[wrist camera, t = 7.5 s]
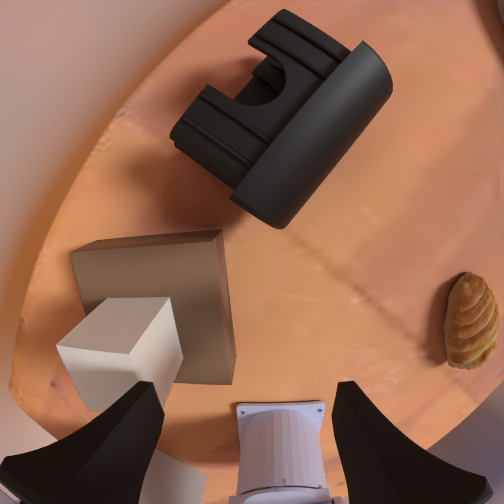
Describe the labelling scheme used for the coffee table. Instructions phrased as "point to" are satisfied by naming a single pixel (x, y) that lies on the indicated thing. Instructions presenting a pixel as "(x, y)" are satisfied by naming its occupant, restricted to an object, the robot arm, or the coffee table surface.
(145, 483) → the three tier block tower
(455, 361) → the pastry
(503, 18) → the cake pan
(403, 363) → the coffee table surface
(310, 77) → the end cap
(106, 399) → the white block
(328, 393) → the coffee table surface
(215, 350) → the walnut base
